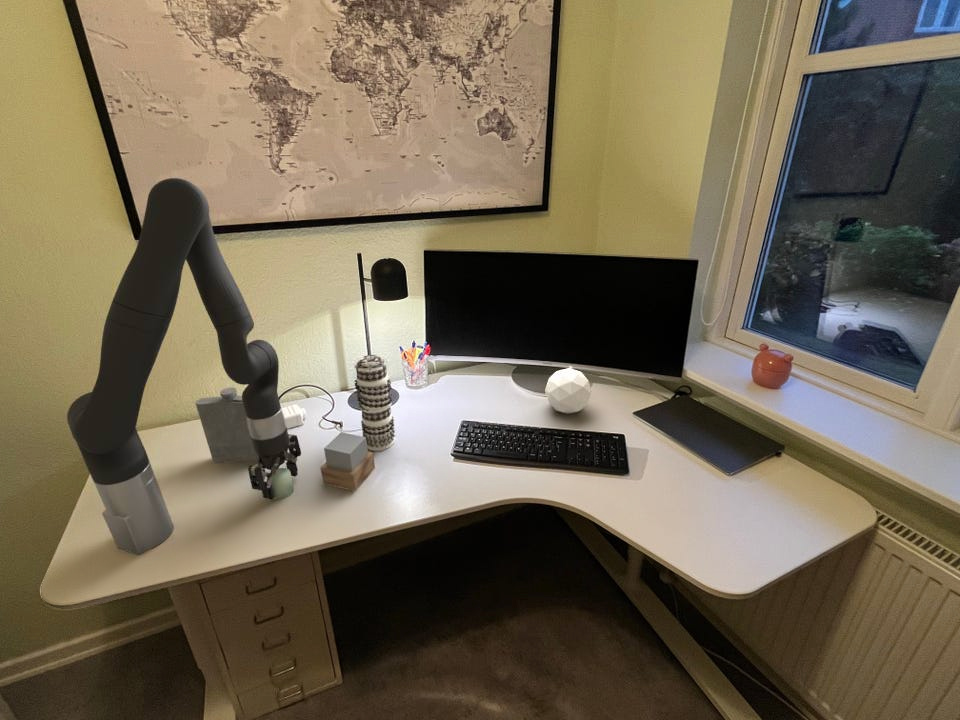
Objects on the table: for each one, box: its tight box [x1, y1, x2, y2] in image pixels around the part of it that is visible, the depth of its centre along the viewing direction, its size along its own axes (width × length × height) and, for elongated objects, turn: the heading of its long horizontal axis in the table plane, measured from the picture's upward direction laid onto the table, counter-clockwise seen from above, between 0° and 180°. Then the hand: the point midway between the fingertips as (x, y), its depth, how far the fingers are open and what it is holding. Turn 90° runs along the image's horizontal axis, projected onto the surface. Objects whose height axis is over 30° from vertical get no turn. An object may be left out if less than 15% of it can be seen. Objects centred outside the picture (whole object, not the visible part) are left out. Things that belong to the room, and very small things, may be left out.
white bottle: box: [281, 403, 307, 430], centre depth 139 cm, size 7×13×4 cm, turn 121°
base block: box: [320, 451, 376, 492], centre depth 118 cm, size 9×9×5 cm
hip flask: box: [195, 386, 258, 464], centre depth 121 cm, size 16×4×20 cm, turn 91°
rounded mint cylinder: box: [271, 467, 295, 500], centre depth 113 cm, size 5×5×5 cm
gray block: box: [323, 432, 369, 471], centre depth 116 cm, size 7×7×5 cm
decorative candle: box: [354, 354, 396, 452], centre depth 126 cm, size 9×9×25 cm
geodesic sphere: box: [544, 365, 592, 415], centre depth 144 cm, size 14×14×14 cm
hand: (282, 486), depth 113 cm, fingers open, 8 cm apart
